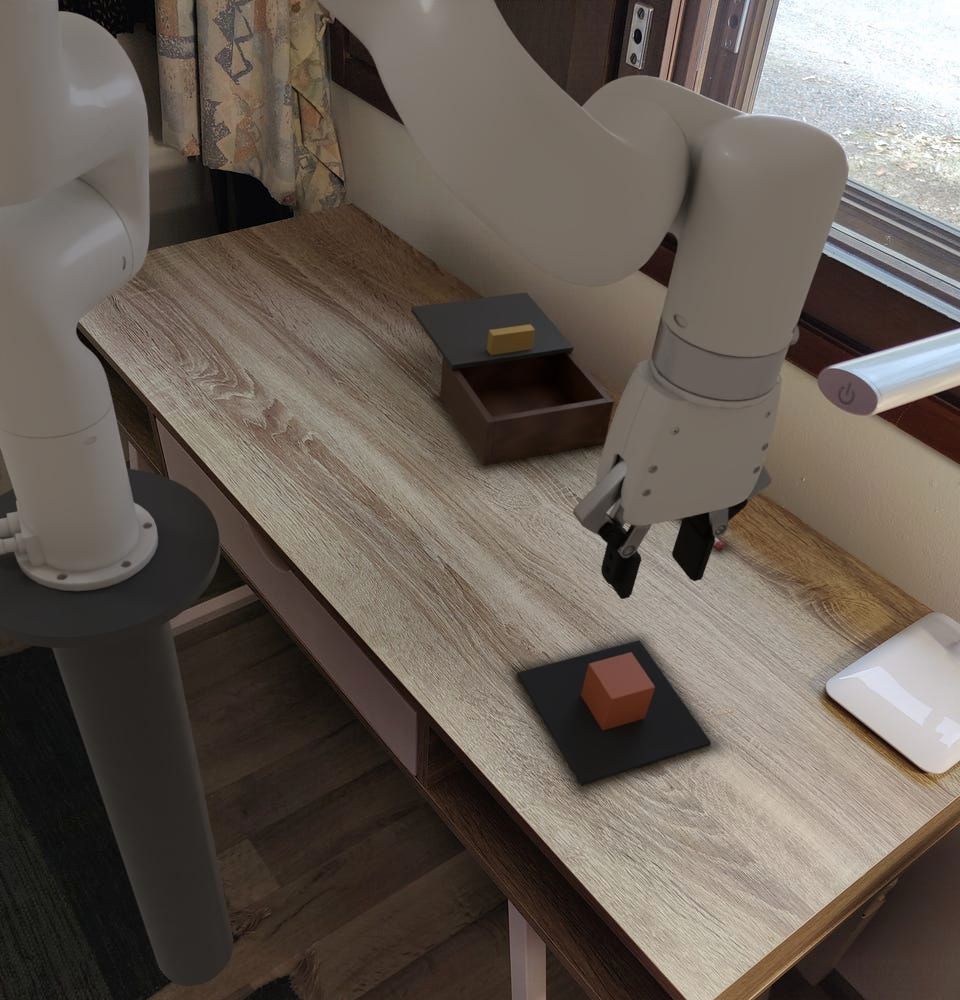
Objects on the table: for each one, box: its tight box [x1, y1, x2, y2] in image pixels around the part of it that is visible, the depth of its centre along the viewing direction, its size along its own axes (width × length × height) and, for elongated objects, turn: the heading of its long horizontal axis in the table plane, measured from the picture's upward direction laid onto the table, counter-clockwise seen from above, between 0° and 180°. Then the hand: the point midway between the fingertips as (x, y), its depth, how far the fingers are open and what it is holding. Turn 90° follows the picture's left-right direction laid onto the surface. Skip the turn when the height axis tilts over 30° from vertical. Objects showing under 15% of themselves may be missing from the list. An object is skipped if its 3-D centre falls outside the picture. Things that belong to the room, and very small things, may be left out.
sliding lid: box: [410, 292, 574, 370], centre depth 111 cm, size 15×13×3 cm
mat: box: [516, 640, 712, 786], centre depth 82 cm, size 12×12×1 cm
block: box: [581, 652, 655, 730], centre depth 81 cm, size 4×4×4 cm
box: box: [439, 352, 615, 466], centre depth 108 cm, size 15×13×5 cm
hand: (651, 574), depth 71 cm, fingers open, 5 cm apart
